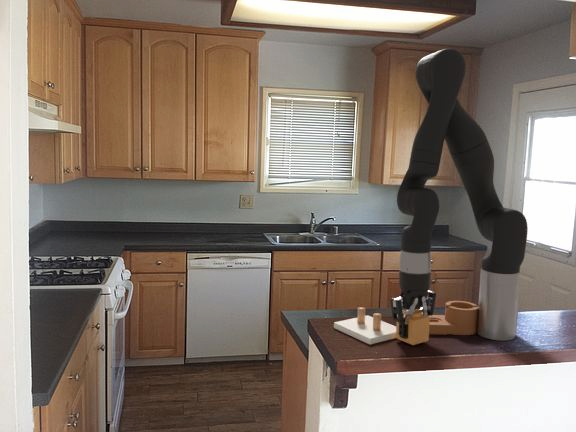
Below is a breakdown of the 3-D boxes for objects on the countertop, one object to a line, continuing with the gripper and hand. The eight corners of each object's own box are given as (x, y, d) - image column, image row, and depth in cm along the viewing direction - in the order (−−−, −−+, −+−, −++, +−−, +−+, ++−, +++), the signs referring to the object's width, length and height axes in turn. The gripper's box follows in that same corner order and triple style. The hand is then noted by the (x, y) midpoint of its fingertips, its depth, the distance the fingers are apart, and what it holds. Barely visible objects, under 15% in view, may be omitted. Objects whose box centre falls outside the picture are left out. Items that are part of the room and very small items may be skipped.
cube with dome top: (411, 333, 132) (412, 307, 131) (428, 340, 127) (429, 313, 126) (395, 338, 129) (396, 311, 128) (413, 345, 124) (414, 317, 123)
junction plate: (367, 320, 144) (368, 301, 144) (404, 335, 133) (405, 314, 132) (333, 327, 138) (334, 307, 137) (369, 344, 126) (370, 322, 125)
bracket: (470, 325, 142) (472, 301, 141) (481, 336, 134) (482, 310, 133) (405, 323, 143) (406, 299, 142) (411, 334, 134) (412, 308, 134)
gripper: (405, 275, 119) (403, 346, 121) (446, 268, 127) (443, 334, 129) (382, 269, 125) (380, 336, 127) (423, 262, 133) (420, 325, 135)
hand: (412, 335), depth 128 cm, fingers closed on cube with dome top, 5 cm apart
